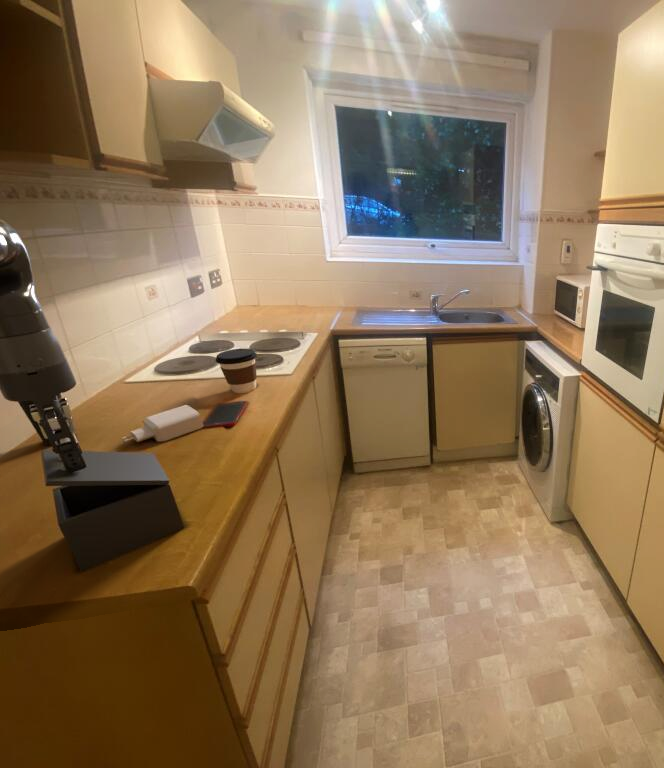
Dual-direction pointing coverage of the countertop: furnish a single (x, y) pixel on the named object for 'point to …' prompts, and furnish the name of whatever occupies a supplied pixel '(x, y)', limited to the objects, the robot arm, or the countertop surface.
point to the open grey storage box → (113, 519)
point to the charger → (168, 425)
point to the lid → (104, 469)
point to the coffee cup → (239, 369)
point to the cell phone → (225, 414)
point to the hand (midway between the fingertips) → (75, 462)
